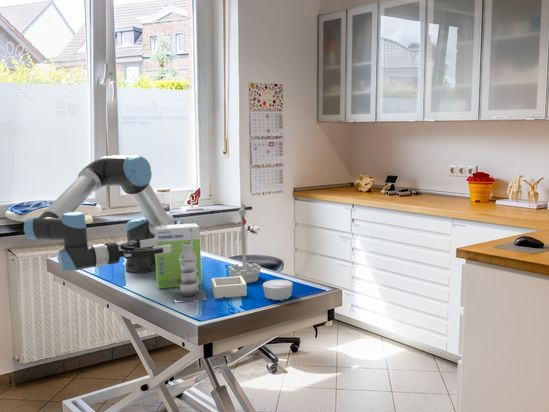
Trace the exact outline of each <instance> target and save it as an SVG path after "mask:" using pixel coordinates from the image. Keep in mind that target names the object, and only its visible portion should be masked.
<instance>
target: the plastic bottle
mask: <svg viewBox="0 0 549 412" xmlns="http://www.w3.org/2000/svg"><path fill="white" fill-rule="evenodd" d="M192 248H193V247H192V243H182V249H183V251H182V252H181V254H180V256H179V262H180V267H181V285H180V287H179V290H180V291H179V292H181V294H182V295H184V296H192V295H195V294H197V292H198V290H199V287H198V286H199V285H197V281H196V259H197V256H196V254H195V253H194V251H193V250H192Z"/></svg>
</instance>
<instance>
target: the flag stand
mask: <svg viewBox="0 0 549 412" xmlns="http://www.w3.org/2000/svg"><path fill="white" fill-rule="evenodd" d="M238 213H239V215H240V231H241V232H240V233H241V253H242V254H241V256H242V258H241V259H242V265H239V263H235V264H232V265H229V266H228V274H229V275H230V277H235V276H242V278H243V279H244V281H245V283H246V284H247V283H253V282H257V281H258V280H259V274H260V273H261V265H259V264H258V263H252V265H249V262H247V250H246V248H247V247H246V227H245V225H246V224H247V219H246V218H245V215H246V213H247V211H246V209H245V208H244V207H241V208H240V209H238Z"/></svg>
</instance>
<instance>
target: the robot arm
mask: <svg viewBox="0 0 549 412" xmlns="http://www.w3.org/2000/svg"><path fill="white" fill-rule="evenodd" d="M151 169H152V167H151V164H150V162H149V160H148V159H147V158H146V157H144V156H141V155H133V154H132V155H131V154H129V155H106V156H102V157H99V158H97V159H95V160H94V161H92V162H90V163H89V164H88V165H86V166H85V167H84V168H83V169H82V170H80V171H79V173H77V174H78V175H77V178H76V179H75V180H74V181H73V182H72V183H71V184H70V185H69V186H68V188H66V189H65V191H63V192H62V193H61V194H60V195H59V197H57V198H56V200H54V201H53V202H52V203H51V204H50V205H49V206H48V207H47V208H46V209H45V210H44V211H43V213H41V214H40V216H37V217H36V216H34V217H29V218H27V219H26V220H25V222H24V224H23V232H24V234H25V236H26V238H28V239H29V240H38V241H62V242H63V247H64V248H63V249H60V250H58V253H57V260H58V265H59V268H60V270H61V271H63V272H72V271H80V270H85V269H90V268H91V269H92V268H96V267H97V268H98V269H99V268H100V267H101V266H106V265H107V264H108V265H109V266H110V265H114V264H119V263H120V258H124V259H125V260H126V261H125V263H124V267H125V269H126V270H128V271H132V272H131V273H147V272H146V271H149V272H152V271H156V257H155V255H158V254H164V253H170V252H171V245H164V246H158V247H155V246H157V238H155V236H154V226H160V225H177V224H184V222H183V221H180V220H178V221H177V220H176V219H175V218H174V215H172V214H170V213H167V211H166V209H165V208H164V206H163V204H162V203H161V200H160V199H159V197H158V196H157V194H156V192H155V191H154V189H153V188H152V186H151V184H150V183H151V180H152V174H153V173H152V170H151ZM107 186H108V187H109V186H112V187H113V186H119V187H121V189H122V191H123V193H125V194H127V195H130V196H131V198H132V199H133V200H134V202H135V203H136V205H137V206H138V208H139V210H140V211H141V213H142V214H143V216H144V217H138V218H133V219H131V220H128V221H127V222H126V239H127V241H126V242H125V241H124V242H122V243H117V242H115V241H112V242H105V243H99V244H98V243H97V244H92V245H91V244H90V245H88V234H87V232H88V231H87V222H86V215H85V214H84V213H83V212H80V211H77V210H78V208H80V206H81V205H82V204H83V203H84V202H85V201H86V200H87V199H88V198H89V197H90V196H91V195H92V194H93V193H95V192H97V191H99V190H100V189H101V188H103V187H107ZM126 270H125V271H126ZM128 271H127V272H128Z"/></svg>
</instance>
